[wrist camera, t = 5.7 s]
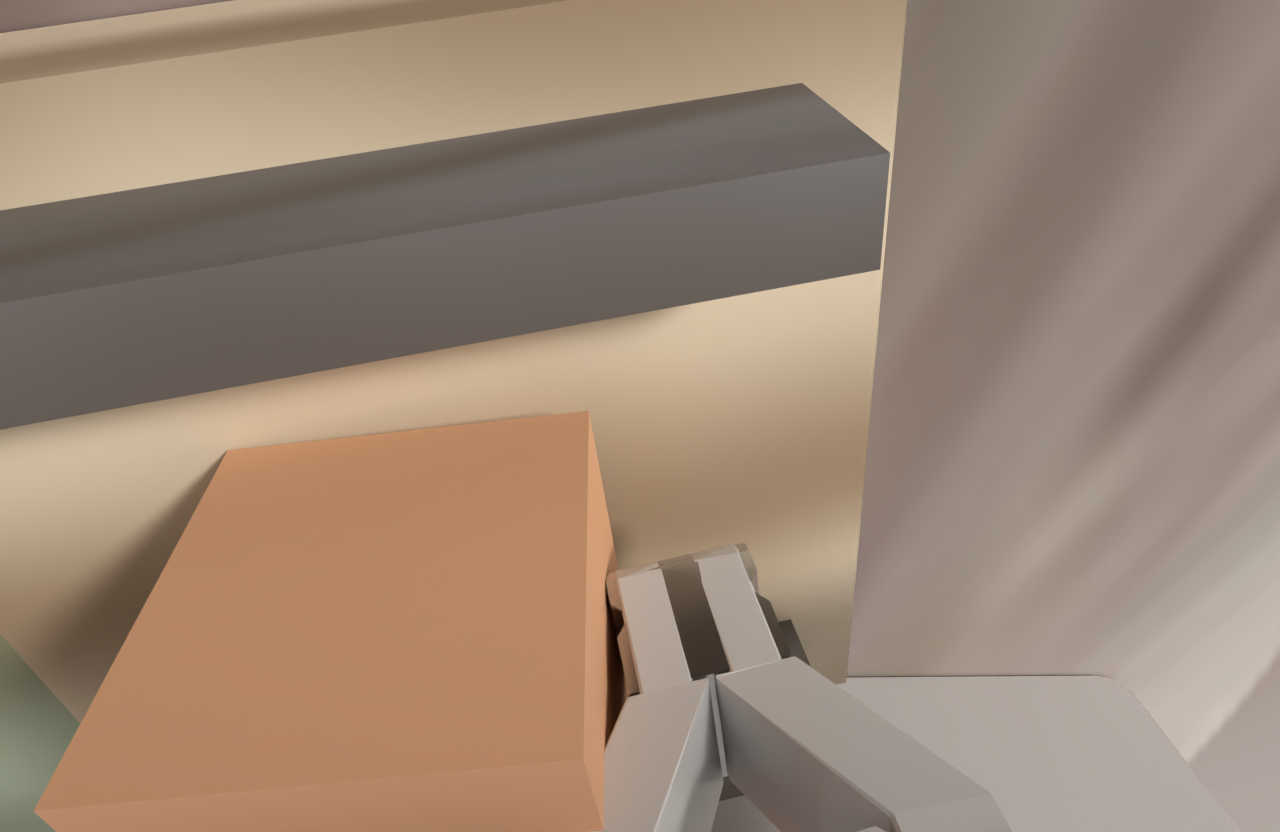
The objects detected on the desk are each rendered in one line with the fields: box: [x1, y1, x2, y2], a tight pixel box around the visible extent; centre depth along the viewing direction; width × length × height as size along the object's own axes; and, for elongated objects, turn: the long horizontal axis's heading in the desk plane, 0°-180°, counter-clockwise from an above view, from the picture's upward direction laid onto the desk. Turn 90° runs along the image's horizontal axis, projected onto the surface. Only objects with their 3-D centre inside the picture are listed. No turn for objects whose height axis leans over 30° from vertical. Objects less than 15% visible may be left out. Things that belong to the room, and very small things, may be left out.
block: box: [33, 411, 630, 832], centre depth 9 cm, size 4×4×4 cm
